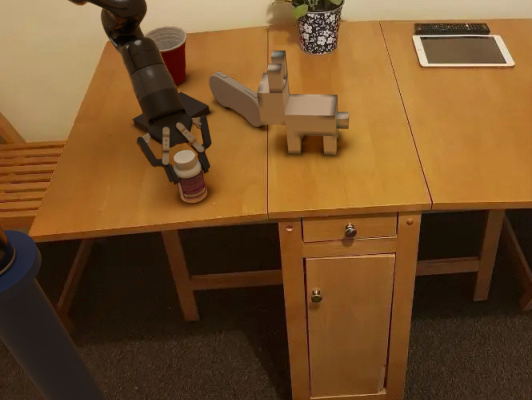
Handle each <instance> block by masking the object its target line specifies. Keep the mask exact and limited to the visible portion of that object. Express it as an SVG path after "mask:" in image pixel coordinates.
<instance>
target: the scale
mask: <svg viewBox="0 0 532 400" xmlns="http://www.w3.org/2000/svg"><path fill="white" fill-rule="evenodd" d="M178 93H179V95H180V98H181V100H182V103H183V105H184V107H185V110H186V112H187V114H188V115H189V116H190V117H191V118H198V117H201V116H202V115H205V116H207V115H208V114H210V113H211V111H210V106H209V104H206V103H204V102H202V101H200V100H198V99H196V98H195V97H193V96H190V95H188V94H187V93H185V92H182V91H180V92H178ZM132 120H133V124H134V127H136V128H138V129H140V130H142V131H143V132H145V133H146V134H147V133H148V131H149V128H148V125H147V122H146V120H145V117H144V115H143V112H142V113H141V114H138V115H137V116H135V117H134V118H132Z"/></svg>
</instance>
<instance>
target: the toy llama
mask: <svg viewBox="0 0 532 400" xmlns="http://www.w3.org/2000/svg"><path fill="white" fill-rule="evenodd" d="M270 61H271V63H268V65H267V69H266V72H262V75H261V79H260V82H259V85H258V88H257V91H256V93H257V97H258V104H259V112H260V119H261V125H262V126H265V125H267V126H270V125H271V126H285V131H286V142H287V152H288V155H301V153H302V148H303V145H302V141H304V138H305V136H312V137H313V136H315V137H316V136H317V137H322V139H323V156H337V151H338V141H339V135H340V134H339V130H349V127H350V111H339V101H338V98H339V97H338V96H339V95H338V94H327V93H326V94H323V93H322V94H321V93H320V94H319V93H318V94H317V93H315V94H314V93H290V84H289V83H290V82H289V72H288V64H287V63H288V62H287V51H286V50H285V49H284V50H283V49H282V50H278V49H277V50H276V49H275V50H274V49H273V50H272V51H271V55H270Z"/></svg>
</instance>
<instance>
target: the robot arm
mask: <svg viewBox="0 0 532 400" xmlns="http://www.w3.org/2000/svg"><path fill="white" fill-rule="evenodd" d="M67 1H68V2H70V3H72V4H73V5H75V6H78V7H82V6H85V5H87V4H88V3H89V4H92V5H94V6H97V7H99V8H101V11H100V21H101V25H102V28H103V31H104V33H105V35H106V36H107V38H108V40H109V41H110V43H111V45H112V46H113V48H114V49H115V50H116V52H117V53H118V54H119V56H120V57H121V60H122V63H123V65H124V67H125V70H126V73H127V74H128V78H129V79H130V84H131V87H132V90H133V93H134V96H135V98H136V100H137V103H138V105H139V108H140V110H141V112H142V113H143V115H144V117H145V120H146V122H147V125H148V128H149V131H148V133H147V132H146V133H145V134H144V135H142V136H137V137H136V145H137V146H138V148H139V149H140V152H142V153H143V156H144V157H145V158H146V160H147V161H148V162H149V164H150V166H151V167H153V168H157V167H159V168H162V169H163V170H164V173H165V175H166V177H167V179H168V181H169V183H170V184H172V183H173V184H174V185H176V186H177V184H178V183H179V181H178V178H177V176H176V174H175V171H174V169H173V168H174V165H173V164H172V163H170V162H171V161H170V149H171V148H173V147H175V146H178V145H183V144H185V143H186V145H187V146H188V147H190V148H191V149H192V150H193V152H194V153H195V154H197V155H196V156H197V157H196V158H197V160H198V161H199V162H200V163H201V166H202V170H203V174H208V173H209V172H210V169H211V163H210V160H209V158H208V156H207V153H206V150H208V149H210V147H211V145H212V144H213V143H212V136H211V132H210V128H209V122H208V121H209V120H208V117H207V115H202V116H201V117H198V118H191V117H190V116H189V115H188V114H187V112H186V110H185V107H184V105H183V103H182V100H181V98H180V95H179V93H180V92H179V89H178V88H177V85H176V84H175V82H174V81H173V78H172V76H171V74H170V72H169V71H168V69H167V67H166V65H165V62H164V60H163V57H162V55H161V53H160V50H159V48H158V46H157V44H156V42H155V41H154V40H153V39H151V38H148V37H145V36H144V35H145V34H144V33H143V31H142V28H141V23H142V22H143V21H144V19H145V17H146V15H147V13H148V4H147V1H146V0H67ZM193 125H195V127H196V129H198V130H200V134H201V140H202V144H201V143H200V141H198V140H197V138H196V137H195V136H194V135H193V134H192V133H191V131H192V127H193ZM151 139H152V140H153V141H155V142H156V143H158V144H160V145H161V151H160V152H161V153H160V154H161V158H157V157H156V155H155V153H154V151H153V150H152V149H151V147H150V146H151ZM16 258H17V252H16V250H15V248H14V246H13V245H12V244H11V242H10V241H9V239H8V238H7V236H6V234H5V233H4V229H3V228H2V226H1V225H0V277H1V276H3V275H4V274H5V273H7V272H8V271H9V270H10V269H11V268H12V266H13V265H14V263H15V261H16Z"/></svg>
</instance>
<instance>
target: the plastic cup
mask: <svg viewBox="0 0 532 400" xmlns="http://www.w3.org/2000/svg"><path fill="white" fill-rule="evenodd" d="M144 36H145V37H148V38H151V39H153V40H154V41H155V42H156V44H157V46H158V48H159V50H160V53H161V55H162V57H163V60H164V62H165V65H166V67H167V69H168V71H169V72H170V74H171V76H172V78H173V81H174V82H175V84H176V86H180V85H182V84H183V83H185V81H187V79H186V78H187V60H186V59H187V58H186V45H187V44H186V42H187V39H188V34H187V31H185V30H184V29H183V28H181V27H178V26H173V25H171V26H170V25H165V26H159V27H155V28H154V29H151V30H149V31H147V32H146V33H145V34H144Z"/></svg>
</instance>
